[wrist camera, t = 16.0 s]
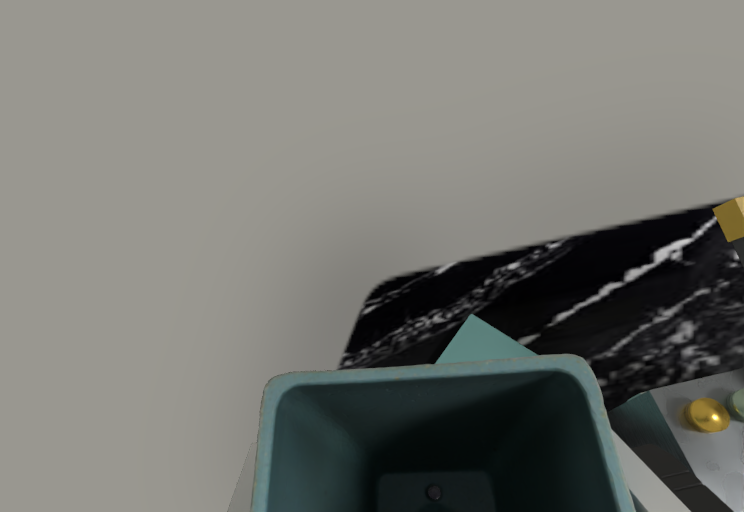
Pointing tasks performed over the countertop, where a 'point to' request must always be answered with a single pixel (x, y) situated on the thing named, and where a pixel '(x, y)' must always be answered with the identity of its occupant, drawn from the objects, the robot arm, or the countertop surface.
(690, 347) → the countertop surface
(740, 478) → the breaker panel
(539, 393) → the flower pot
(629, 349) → the countertop surface
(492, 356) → the pad
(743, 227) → the lever
